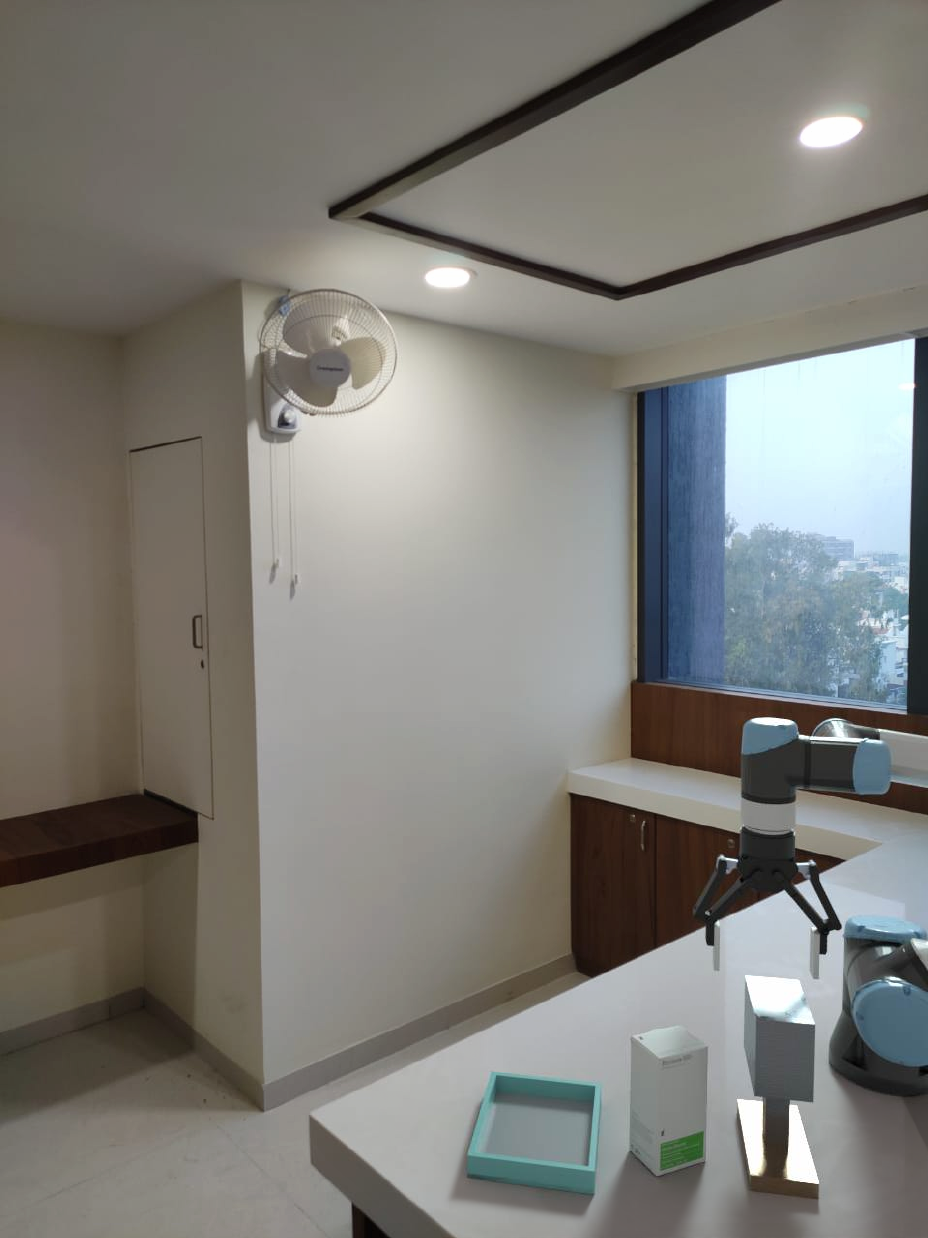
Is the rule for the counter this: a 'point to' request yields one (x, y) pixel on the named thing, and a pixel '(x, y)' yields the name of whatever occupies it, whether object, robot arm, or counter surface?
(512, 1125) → the tray
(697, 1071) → the skincare box
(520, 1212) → the counter surface
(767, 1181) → the mounted unit
